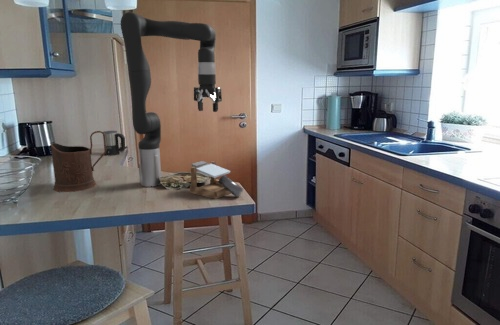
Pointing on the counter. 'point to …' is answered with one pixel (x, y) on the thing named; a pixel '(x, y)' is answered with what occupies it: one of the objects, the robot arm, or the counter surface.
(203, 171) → the trapdoor
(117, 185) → the counter surface
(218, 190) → the stand
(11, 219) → the counter surface
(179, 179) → the rock
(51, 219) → the counter surface
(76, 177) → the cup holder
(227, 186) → the cylinder
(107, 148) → the milk frother
